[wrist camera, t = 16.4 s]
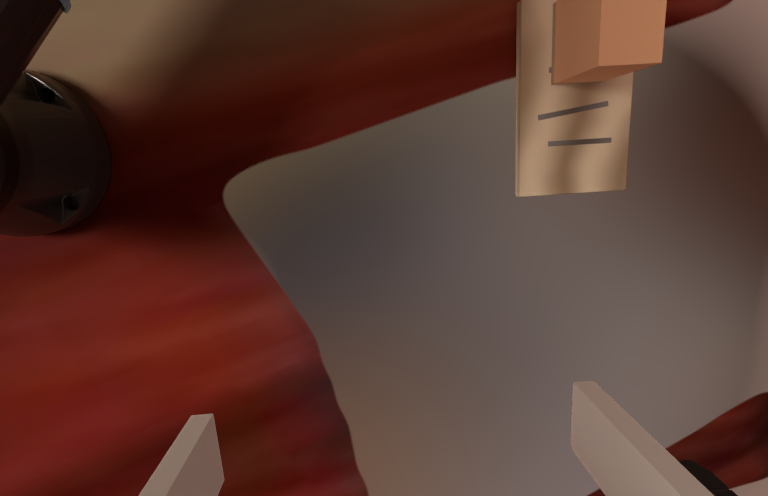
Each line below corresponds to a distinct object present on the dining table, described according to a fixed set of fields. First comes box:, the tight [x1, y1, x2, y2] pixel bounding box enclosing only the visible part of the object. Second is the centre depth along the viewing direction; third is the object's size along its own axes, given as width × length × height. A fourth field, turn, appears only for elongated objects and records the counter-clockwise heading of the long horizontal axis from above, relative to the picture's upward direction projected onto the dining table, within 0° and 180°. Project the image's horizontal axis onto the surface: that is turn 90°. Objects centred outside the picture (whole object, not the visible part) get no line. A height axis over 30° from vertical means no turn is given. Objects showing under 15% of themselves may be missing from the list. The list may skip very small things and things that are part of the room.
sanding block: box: [551, 0, 667, 85], centre depth 35 cm, size 5×7×8 cm
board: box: [515, 0, 633, 197], centre depth 40 cm, size 11×18×1 cm, turn 3°
